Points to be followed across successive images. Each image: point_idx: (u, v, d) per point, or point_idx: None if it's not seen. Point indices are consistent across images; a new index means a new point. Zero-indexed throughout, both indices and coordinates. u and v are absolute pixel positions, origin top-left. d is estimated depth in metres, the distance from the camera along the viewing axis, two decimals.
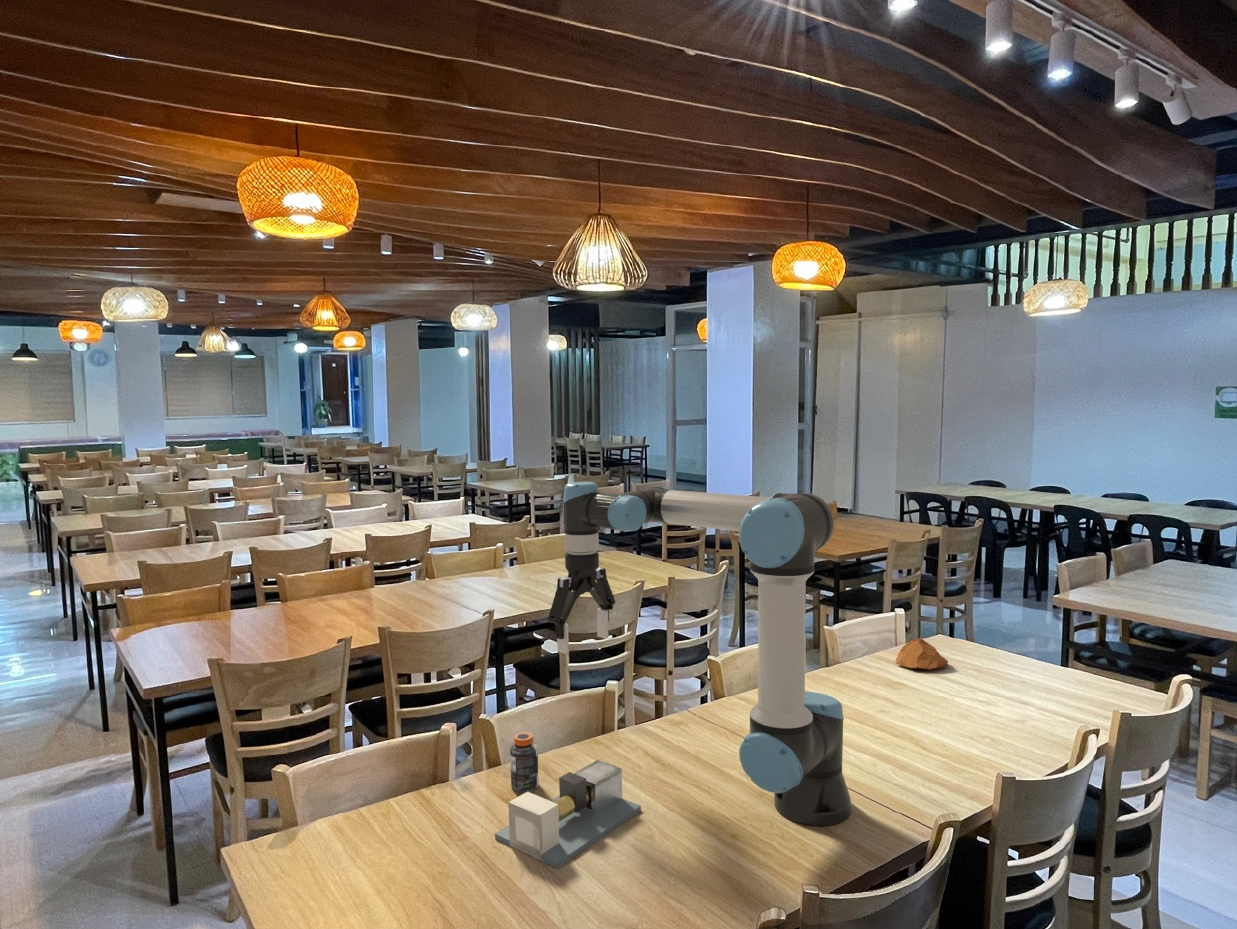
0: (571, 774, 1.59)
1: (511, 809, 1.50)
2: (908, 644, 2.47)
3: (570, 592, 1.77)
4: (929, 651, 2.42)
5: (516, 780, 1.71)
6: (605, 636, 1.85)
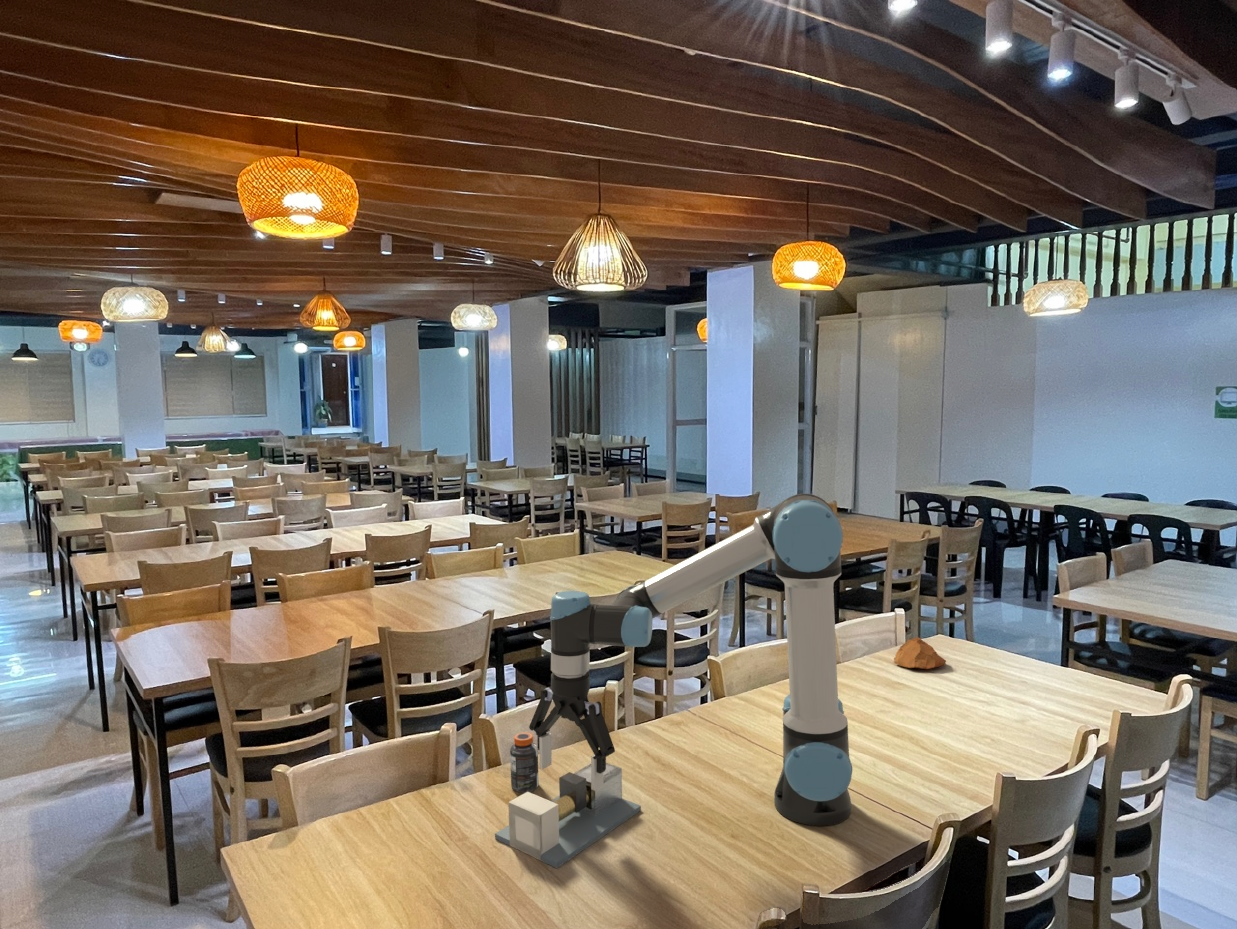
0: (571, 774, 1.59)
1: (511, 809, 1.50)
2: (906, 644, 2.47)
3: None
4: (927, 651, 2.43)
5: (516, 780, 1.71)
6: None
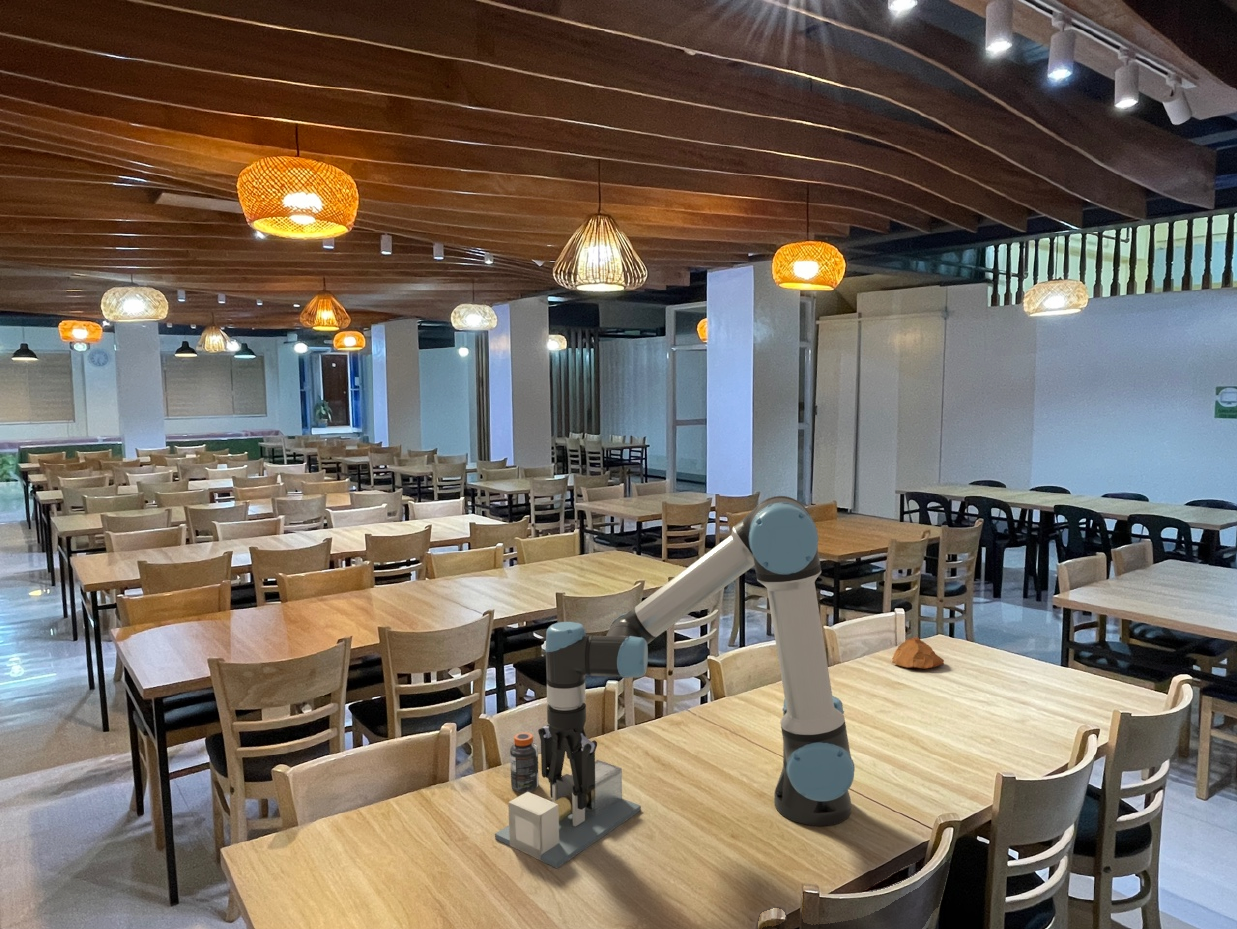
0: (568, 776, 1.59)
1: (511, 809, 1.50)
2: (904, 643, 2.47)
3: None
4: (925, 651, 2.43)
5: (516, 780, 1.71)
6: None
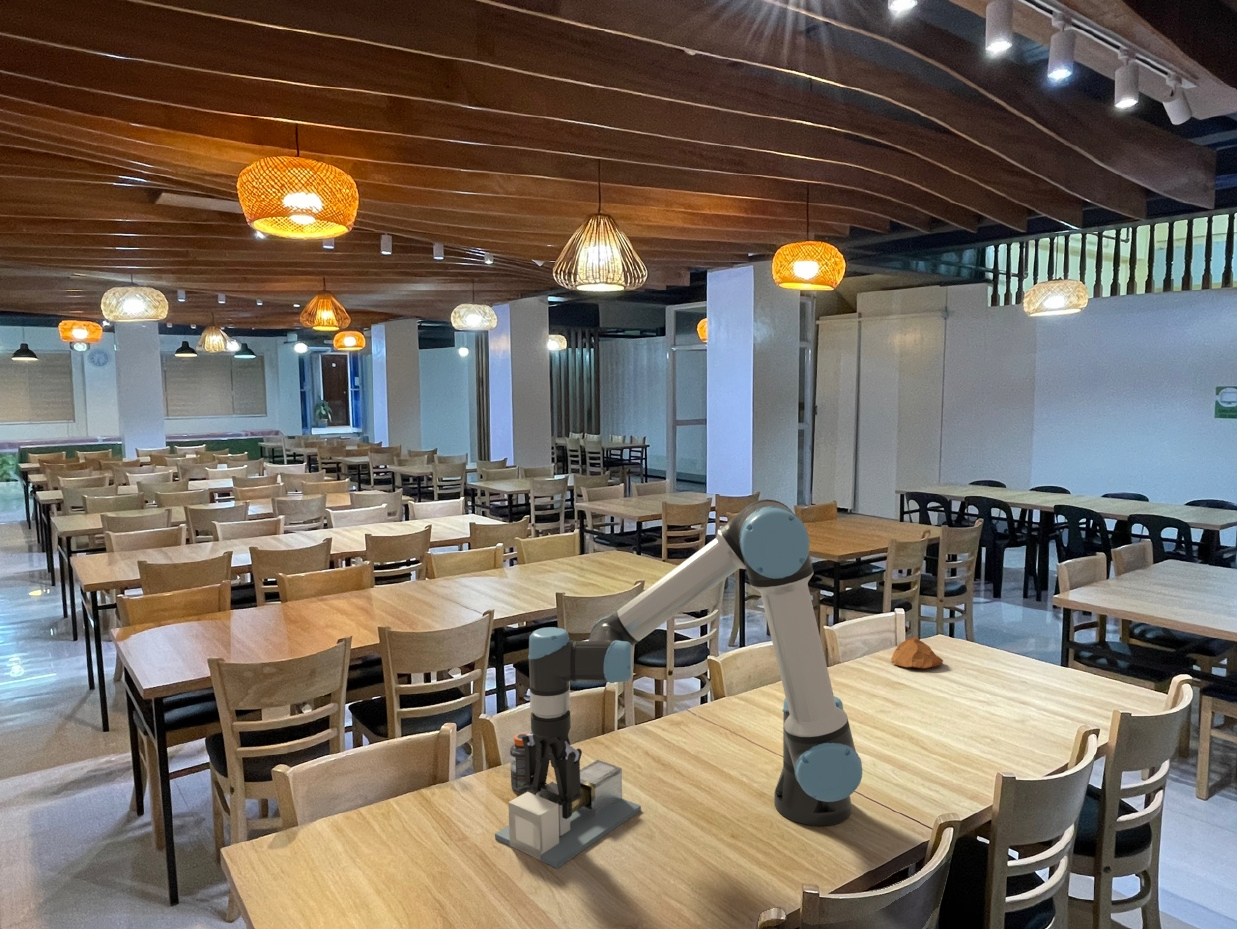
0: (553, 784, 1.56)
1: (511, 809, 1.50)
2: (903, 643, 2.48)
3: None
4: (924, 651, 2.43)
5: (516, 780, 1.71)
6: None
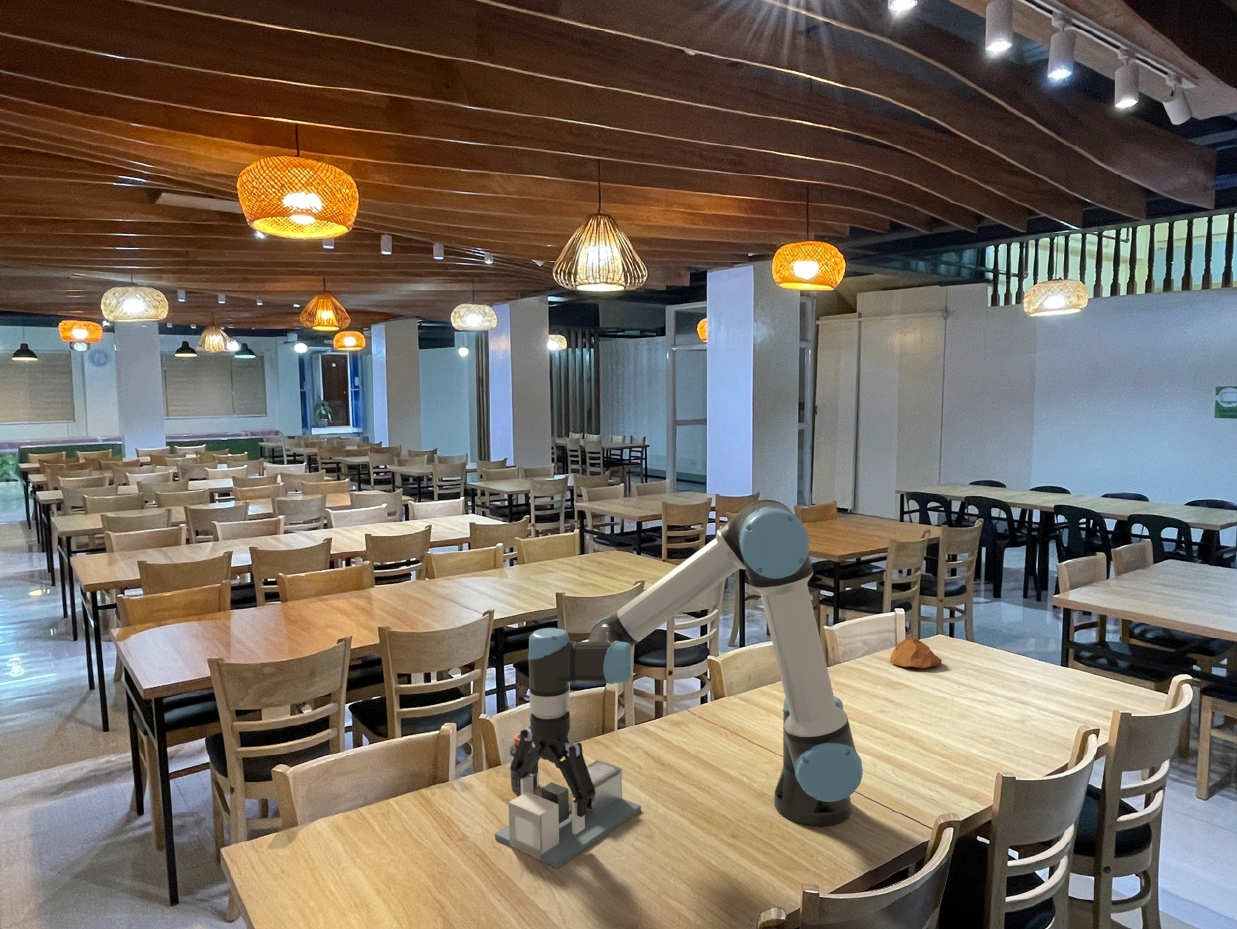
0: (553, 784, 1.55)
1: (511, 809, 1.50)
2: (902, 643, 2.48)
3: None
4: (923, 650, 2.43)
5: (516, 780, 1.71)
6: None
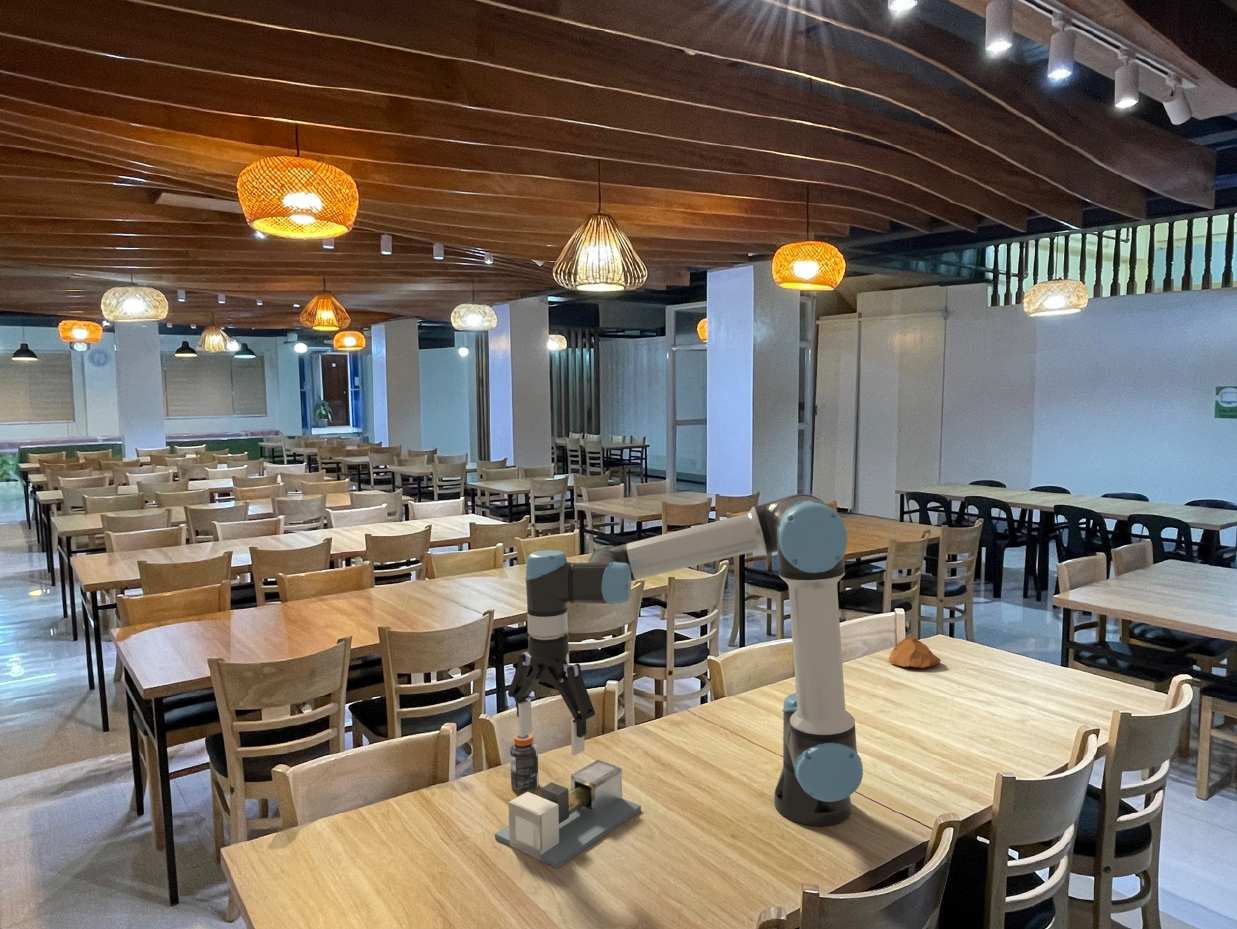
0: (553, 784, 1.55)
1: (511, 809, 1.50)
2: (901, 643, 2.48)
3: None
4: (922, 650, 2.44)
5: (516, 780, 1.71)
6: None
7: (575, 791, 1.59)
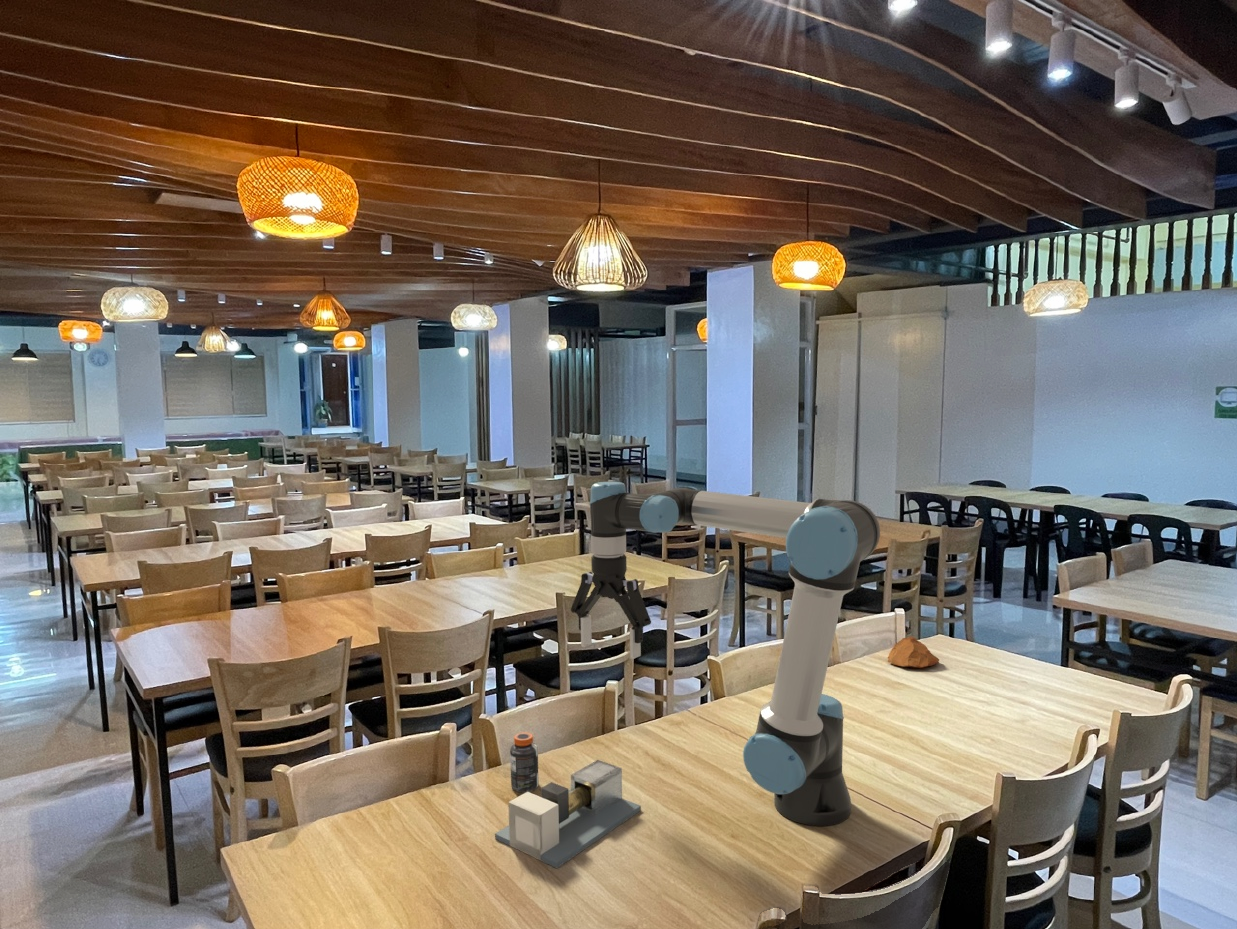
0: (553, 784, 1.55)
1: (511, 809, 1.50)
2: (899, 642, 2.48)
3: None
4: (920, 650, 2.44)
5: (516, 780, 1.71)
6: None
7: (575, 791, 1.59)
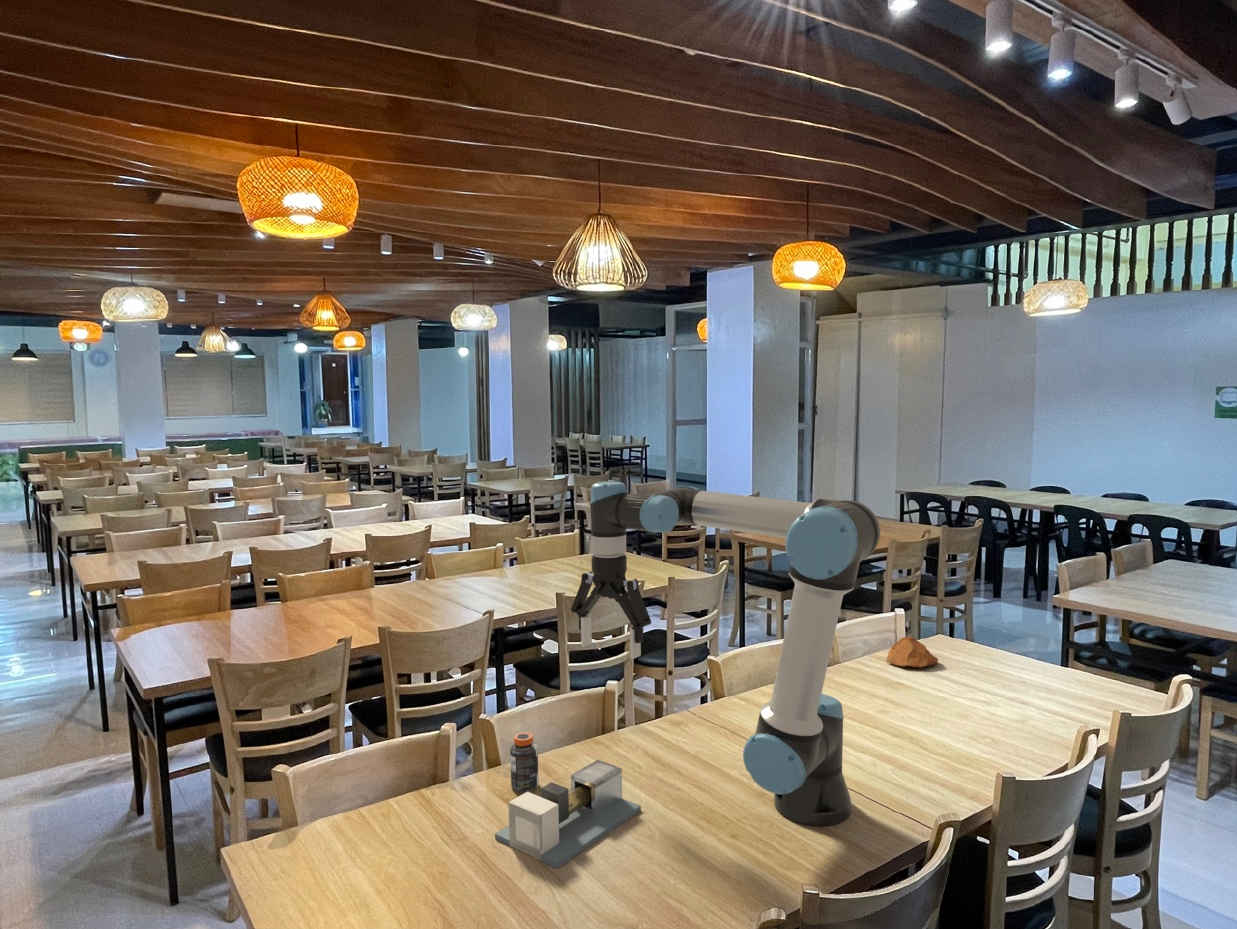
0: (553, 784, 1.55)
1: (511, 809, 1.50)
2: (898, 642, 2.48)
3: None
4: (919, 650, 2.44)
5: (516, 780, 1.71)
6: None
7: (575, 791, 1.59)
